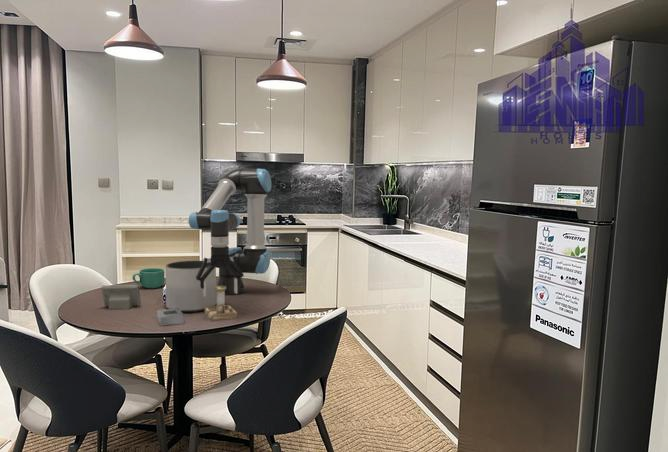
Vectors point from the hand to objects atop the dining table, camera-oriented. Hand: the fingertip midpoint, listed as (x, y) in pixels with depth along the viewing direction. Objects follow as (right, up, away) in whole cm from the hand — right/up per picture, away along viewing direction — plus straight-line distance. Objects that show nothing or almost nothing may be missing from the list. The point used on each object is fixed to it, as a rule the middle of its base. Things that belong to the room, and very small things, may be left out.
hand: (220, 294), depth 211 cm
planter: (-17, -8, +14) cm, 23 cm away
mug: (-51, -4, +52) cm, 73 cm away
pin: (0, -9, +1) cm, 9 cm away
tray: (0, -9, +1) cm, 9 cm away
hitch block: (-19, -10, -8) cm, 23 cm away
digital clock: (-48, -8, +12) cm, 50 cm away
